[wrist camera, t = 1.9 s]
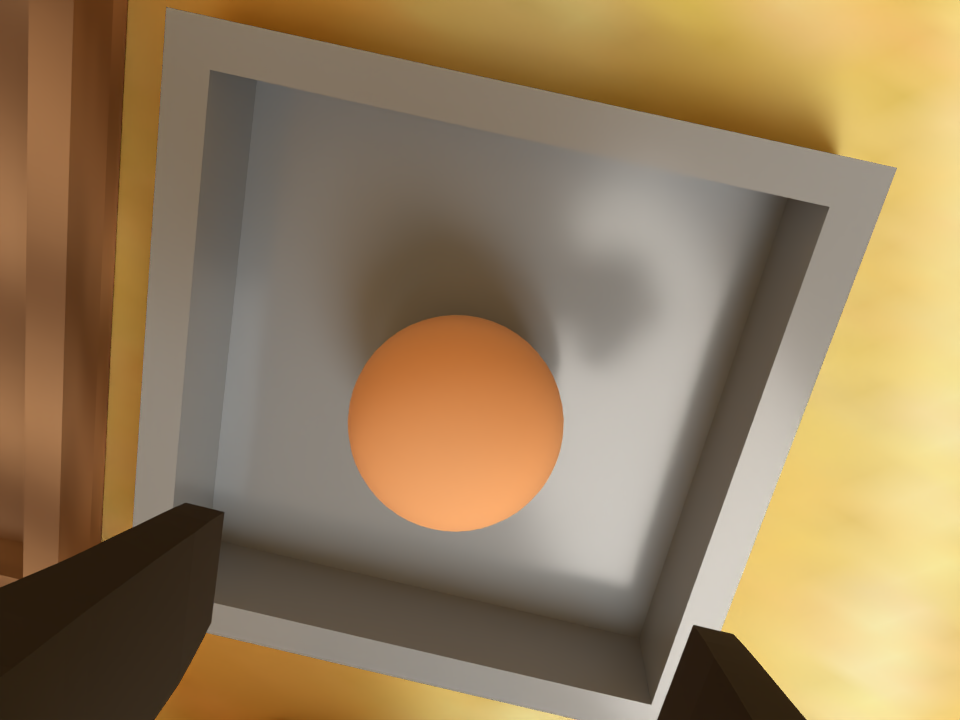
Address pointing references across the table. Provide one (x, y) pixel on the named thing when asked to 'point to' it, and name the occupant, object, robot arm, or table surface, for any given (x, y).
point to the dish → (492, 296)
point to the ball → (455, 423)
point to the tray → (56, 271)
